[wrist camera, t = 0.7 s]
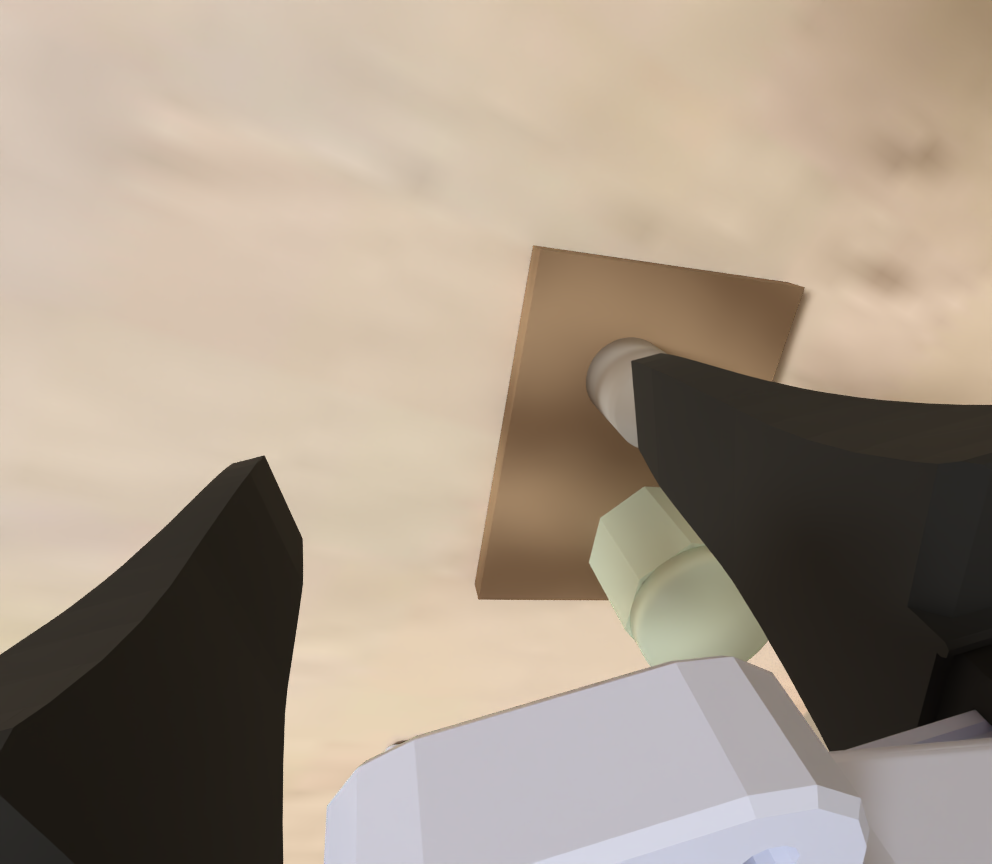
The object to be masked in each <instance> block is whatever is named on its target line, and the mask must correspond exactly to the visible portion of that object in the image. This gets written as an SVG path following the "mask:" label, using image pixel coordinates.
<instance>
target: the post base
mask: <svg viewBox="0 0 992 864" xmlns="http://www.w3.org/2000/svg"><path fill="white" fill-rule="evenodd" d="M804 288H805V287H801V286H798V285H795V284H791V283H788V282H781V281H775V280H768V279H761V278H754V277H747V276H740V275H733V274H726V273H719V272H712V271H705V270H699V269H692V268H685V267H678V266H671V265H664V264H657V263H650V262H643V261H636V260H629V259H623V258H616V257H609V256H602V255H595V254H588V253H581V252H574V251H567V250H560V249H553V248H547V247H540V246H533V250H532V255H531V261H530V267H529V273H528V279H527V284H526V290H525V296H524V302H523V308H522V313H521V319H520V325H519V331H518V337H517V342H516V348H515V354H514V360H513V366H512V371H511V377H510V383H509V389H508V395H507V400H506V406H505V412H504V418H503V424H502V429H501V435H500V441H499V447H498V453H497V458H496V464H495V470H494V476H493V482H492V487H491V493H490V499H489V505H488V511H487V516H486V522H485V528H484V534H483V540H482V545H481V551H480V557H479V563H478V569H477V574H476V580H475V587H476V591H477V595H478V599H493V600H609V599H608V597H607V595H606V594H605V592H604V590H603V588H602V586H601V584H600V582H599V581H598V579H597V577H596V575H595V573H594V571H593V569H592V568H591V566H590V564H589V560H590V556H591V552H592V548H593V544H594V540H595V536H596V532H597V528H598V525H599V521H600V518H601V517H602V516H604V515H605V514H606V513H608V512H609V511H611V510H612V509H613V508H615V507H616V506H618V505H619V504H620V503H622V502H623V501H625V500H626V499H627V498H629V497H630V496H632V495H633V494H634V493H636V492H637V491H639V490H640V489H641V488H643V487H644V486H646V487H660V486H659V485H658V483H657V481H656V480H655V478H654V476H653V474H652V473H651V471H650V469H649V467H648V465H647V464H646V462H645V460H644V458H643V456H642V454H641V453H640V451H639V449H638V439H637V427H636V415H635V403H634V391H633V379H632V367H631V361H632V360H636V359H640V358H643V357H647V356H651V355H655V354H659V353H664V354H671V355H675V356H679V357H683V358H687V359H691V360H694V361H698V362H701V363H705V364H708V365H712V366H715V367H719V368H722V369H726V370H729V371H733V372H736V373H740V374H744V375H747V376H751V377H755V378H759V379H763V380H767V381H771V382H772V381H773V378H774V375H775V372H776V369H777V366H778V364H779V361H780V358H781V355H782V352H783V349H784V346H785V343H786V340H787V337H788V334H789V332H790V329H791V326H792V323H793V320H794V317H795V314H796V311H797V308H798V305H799V302H800V300H801V297H802V294H803V291H804Z"/></svg>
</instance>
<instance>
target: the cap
mask: <svg viewBox="0 0 992 864" xmlns="http://www.w3.org/2000/svg"><path fill="white" fill-rule="evenodd" d="M589 564H590V566H591V568H592V569H593V571H594V573H595V575H596V577H597V579H598V581H599V582H600V584H601V586H602V588H603V590H604V592H605V594H606V595H607V597H608V599H609V601H610V603H611V605H612V607H613V609H614V610H615V612H616V614H617V616H618V618H619V620H620V622H621V623H622V625H623V627H624V629H625V630H626V631H627V632H628V634H629V635H630V636H631V637H632V638H633V639H634V640H635V642H636V643H637V645H638V646H639V648H640V650H641V652H642V654H643V656H644V657H645V659H646V661H647V662H648V664H649V665H650V666H651V667H652V666H656V665H659V664H662V663H666V662H669V661H676V660H685V659H694V658H703V657H713V656H733V657H735V658H738V659H740V660H743V661H745V662H746V661H748V660H749V659H751V658H752V657H753V656H754V655H755V654H756V653H757V652H758V651H759V650H760V649H761V648H762V647H763V646H764V645H765V644H766V642H767V641H768V639H767V637H766V635H765V634H764V632H763V630H762V628H761V627H760V625H759V623H758V622H757V620H756V618H755V617H754V615H753V614H752V612H751V610H750V609H749V607H748V605H747V604H746V602H745V601H744V599H743V597H742V596H741V594H740V592H739V591H738V589H737V588H736V586H735V584H734V583H733V581H732V580H731V579H730V577H729V576H728V574H727V573H726V572H725V570H724V569H723V567H722V566H721V565H720V563H719V562H718V561H717V559H716V558H715V557H714V556H713V554H712V553H711V552H710V551H709V549H708V548H707V547H706V545H705V544H704V543H703V542H702V540H701V539H700V538H699V537H698V535H697V534H696V533H695V531H694V530H693V529H692V528H691V526H690V525H689V524H688V523H687V521H686V520H685V519H684V518H683V516H682V515H681V514H680V512H679V511H678V510H677V509H676V507H675V506H674V505H673V503H672V502H671V501H670V499H669V498H668V497H667V496H666V494H665V493H664V492H663V490H662V489H661V488H660V487H646V486H644V487H643V488H641V489H640V490H639V491H637V492H636V493H634V494H633V495H632V496H630V497H629V498H627V499H626V500H625V501H623V502H622V503H620V504H619V505H618V506H616V507H615V508H613V509H612V510H611V511H609V512H608V513H606V514H605V515H604V516H602V517H601V518H600V521H599V525H598V528H597V532H596V536H595V540H594V544H593V548H592V552H591V556H590V560H589Z"/></svg>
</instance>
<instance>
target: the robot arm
mask: <svg viewBox="0 0 992 864" xmlns="http://www.w3.org/2000/svg"><path fill="white" fill-rule="evenodd" d="M631 367H632V379H633V391H634V403H635V415H636V427H637V439H638V449H639V451H640V453H641V454H642V456H643V458H644V460H645V462H646V464H647V465H648V467H649V469H650V471H651V473H652V474H653V476H654V478H655V480H656V481H657V483H658V485H659V486H660V488H661V489H662V490H663V492H664V493H665V494H666V496H667V497H668V498H669V499H670V501H671V502H672V503H673V505H674V506H675V507H676V509H677V510H678V511H679V512H680V514H681V515H682V516H683V518H684V519H685V520H686V521H687V523H688V524H689V525H690V526H691V528H692V529H693V530H694V531H695V533H696V534H697V535H698V537H699V538H700V539H701V540H702V542H703V543H704V544H705V545H706V547H707V548H708V549H709V551H710V552H711V553H712V554H713V556H714V557H715V558H716V559H717V561H718V562H719V563H720V565H721V566H722V567H723V569H724V570H725V572H726V573H727V574H728V576H729V577H730V579H731V580H732V581H733V583H734V584H735V586H736V588H737V589H738V591H739V592H740V594H741V596H742V597H743V599H744V601H745V602H746V604H747V605H748V607H749V609H750V610H751V612H752V614H753V615H754V617H755V618H756V620H757V622H758V623H759V625H760V627H761V628H762V630H763V632H764V634H765V635H766V637H767V639H768V640H769V642H770V644H771V646H772V647H773V649H774V651H775V652H776V654H777V656H778V658H779V659H780V661H781V663H782V664H783V666H784V668H785V670H786V671H787V673H788V675H789V677H790V679H791V680H792V682H793V684H794V686H795V688H796V690H797V691H798V693H799V695H800V697H801V699H802V701H803V702H804V704H805V706H806V708H807V710H808V712H809V713H810V715H811V717H812V719H813V721H814V722H815V724H816V726H817V728H818V730H819V732H820V734H821V736H822V737H823V740H824V742H825V744H826V745H827V747H828V749H829V752H828V751H827V750H826V748H825V747H824V745H823V744H822V742H821V741H820V740H819V738H818V737H817V735H816V734H815V733H814V731H813V730H812V728H811V727H810V726H809V724H808V723H807V721H806V720H805V718H804V717H803V715H802V714H801V713H800V711H799V710H798V708H797V707H796V706H795V704H794V703H793V701H792V700H791V698H790V697H789V696H788V694H787V693H786V691H785V690H784V689H783V687H782V686H781V684H780V683H779V681H778V680H777V679H776V677H775V676H774V674H773V673H772V672H770V671H767V670H765V669H762V668H760V667H757V666H755V665H752V664H750V663H748V662H745V661H743V660H740V659H738V658H735V657H733V656H713V657H703V658H694V659H685V660H676V661H669V662H666V663H662V664H659V665H656V666H652V667H649V668H645V669H642V670H639V671H635V672H632V673H628V674H625V675H622V676H618V677H615V678H611V679H608V680H605V681H601V682H598V683H594V684H591V685H588V686H584V687H581V688H577V689H574V690H571V691H567V692H564V693H561V694H557V695H554V696H550V697H547V698H544V699H540V700H537V701H533V702H530V703H527V704H523V705H520V706H516V707H513V708H510V709H506V710H503V711H499V712H496V713H493V714H489V715H486V716H482V717H479V718H476V719H472V720H469V721H465V722H462V723H459V724H455V725H452V726H449V727H445V728H442V729H438V730H435V731H432V732H428V733H425V734H421V735H418V736H415V737H413V738H411V739H409V740H407V741H405V742H403V743H401V744H395V745H391V746H389V747H388V748H387V749H386V750H385V752H383V753H381V754H379V755H377V756H375V757H373V758H371V759H369V760H367V761H365V762H364V763H363V764H361V765H360V766H359V767H358V768H357V769H356V770H355V771H354V773H353V774H352V775H351V776H350V778H349V779H348V780H347V781H346V783H345V784H344V785H343V786H342V788H341V789H340V790H339V791H338V793H337V794H336V795H335V796H334V798H333V799H332V800H331V802H330V803H329V804H328V805H327V815H326V834H325V853H324V864H992V405H950V404H925V403H912V402H899V401H885V400H875V399H866V398H858V397H851V396H844V395H838V394H831V393H824V392H818V391H813V390H807V389H802V388H797V387H793V386H789V385H784V384H780V383H775V382H771V381H767V380H763V379H759V378H755V377H751V376H747V375H744V374H740V373H736V372H733V371H729V370H726V369H722V368H719V367H715V366H712V365H708V364H705V363H701V362H698V361H694V360H691V359H687V358H683V357H679V356H675V355H671V354H664V353H659V354H655V355H651V356H647V357H643V358H640V359H636V360H632V361H631ZM302 586H303V539H302V537H301V534H300V532H299V530H298V528H297V526H296V523H295V521H294V519H293V517H292V515H291V512H290V510H289V508H288V506H287V504H286V502H285V499H284V497H283V495H282V493H281V491H280V488H279V486H278V484H277V482H276V480H275V477H274V475H273V473H272V471H271V469H270V467H269V464H268V462H267V460H266V458H265V456H260V457H256V458H253V459H249V460H245V461H241V462H237V463H233V464H231V465H230V466H229V467H227V468H226V469H225V470H223V471H222V472H221V473H220V474H219V475H218V476H217V477H216V478H215V479H213V480H212V481H211V482H210V483H209V484H208V485H207V486H206V487H205V488H204V489H203V490H202V491H201V492H200V493H199V494H198V495H197V496H196V497H195V498H194V499H193V500H192V501H191V502H190V503H189V504H188V505H187V506H186V507H185V508H184V509H183V510H182V511H181V512H180V513H179V514H178V515H177V516H176V517H175V518H174V519H173V520H172V521H171V522H170V523H169V524H168V525H166V526H165V527H164V528H163V529H162V530H161V531H160V532H159V533H158V534H157V535H156V536H155V537H153V538H152V539H151V540H150V541H149V542H148V543H147V544H146V545H145V546H144V547H142V548H141V549H140V550H139V551H138V552H137V553H136V554H135V555H134V556H133V557H131V558H130V559H129V560H128V561H127V562H126V563H125V564H124V565H123V566H121V567H120V568H119V569H118V570H117V571H116V572H114V573H113V574H112V575H111V576H109V577H108V578H107V579H106V580H105V581H103V582H102V583H101V584H100V585H98V586H97V587H96V588H95V589H93V590H92V591H91V592H89V593H88V594H87V595H85V596H84V597H83V598H81V599H80V600H79V601H78V602H76V603H75V604H74V605H72V606H71V607H70V608H68V609H67V610H66V611H64V612H63V613H61V614H60V615H59V616H57V617H56V618H54V619H53V620H51V621H50V622H48V623H47V624H45V625H44V626H42V627H41V628H39V629H38V630H36V631H35V632H33V633H32V634H30V635H29V636H27V637H26V638H25V639H23V640H22V641H20V642H19V643H17V644H16V645H14V646H13V647H11V648H10V649H8V650H7V651H5V652H4V653H2V654H1V655H0V864H283V823H282V822H283V754H284V725H285V707H286V697H287V688H288V681H289V674H290V668H291V661H292V655H293V648H294V642H295V635H296V629H297V622H298V615H299V608H300V601H301V594H302Z"/></svg>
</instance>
